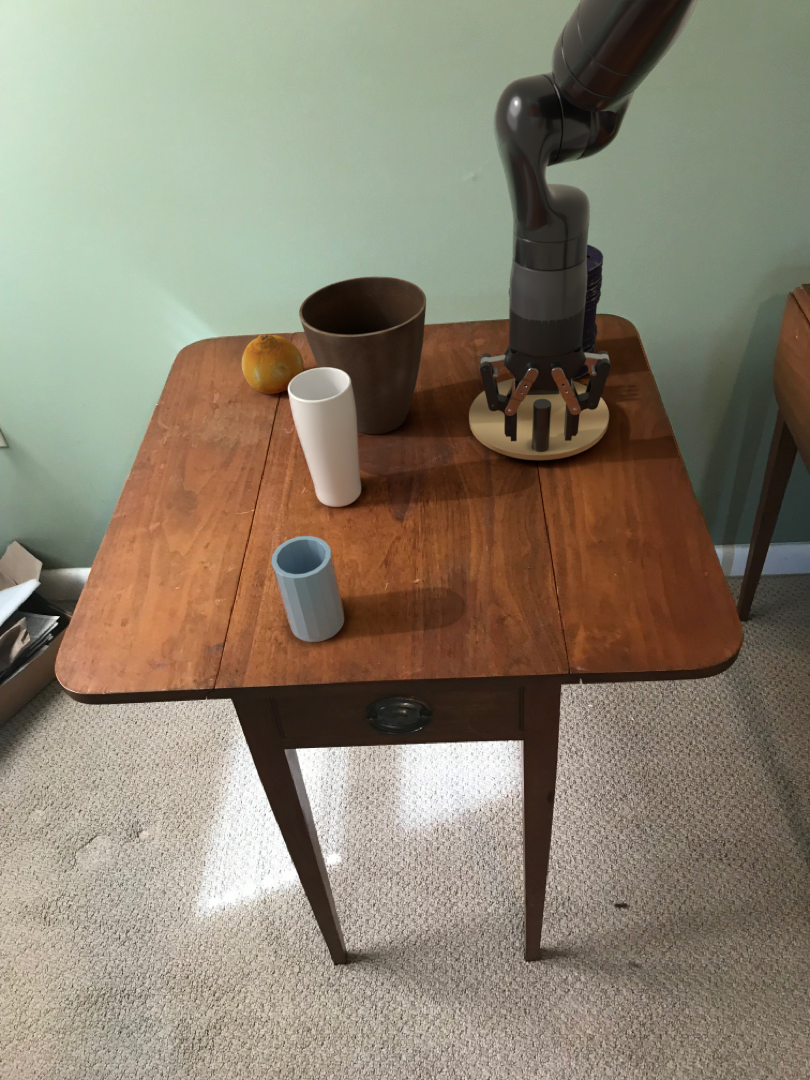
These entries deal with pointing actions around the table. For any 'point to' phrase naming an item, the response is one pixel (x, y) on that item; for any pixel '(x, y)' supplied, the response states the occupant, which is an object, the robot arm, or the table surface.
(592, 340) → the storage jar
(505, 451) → the round wooden platform
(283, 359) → the fruit
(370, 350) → the flower pot
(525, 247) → the robot arm
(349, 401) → the drinking glass
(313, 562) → the cup
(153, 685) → the table surface
